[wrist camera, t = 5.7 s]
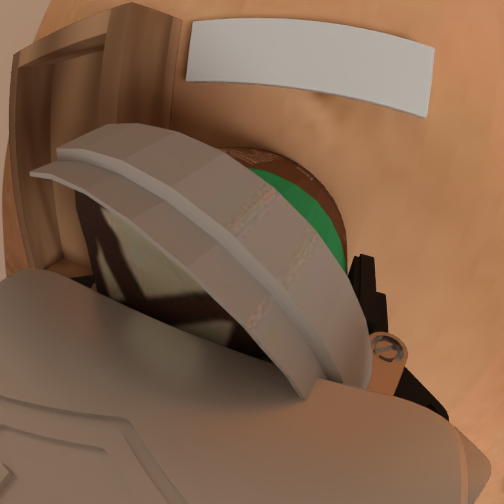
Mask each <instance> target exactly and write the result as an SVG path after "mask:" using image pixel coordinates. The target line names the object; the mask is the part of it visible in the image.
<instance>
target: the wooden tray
mask: <svg viewBox="0 0 504 504" xmlns="http://www.w3.org/2000/svg"><path fill="white" fill-rule="evenodd" d="M181 25H182V20H180V19H177V18H175V17H172V16H170V15H167V14H165V13H162V12H159V11H156V10H153V9H151V8H148V7H145V6H142V5H139V4H135V3H132V2H131V3H128V4H124V5H121V6H118V7H115V8H112V9H109V10H106V11H103V12H101V13H98V14H95V15H93V16H90V17H87V18H85V19H83V20H80V21H78V22H75V23H73V24H71V25H69V26H66V27H64V28H62V29H60V30H58V31H56V32H54V33H52V34H50V35H48V36H46V37H44V38H42V39H40V40H38V41H36V42H35V43H33V44H31V45H29V46H27V47H26V48H24V49H22V50H21V51H19V52H17V53H16V54H14V55H13V63H12V72H11V83H10V99H9V143H10V160H11V172H12V181H13V189H14V196H15V203H16V209H17V215H18V220H19V225H20V230H21V235H22V239H23V244H24V248H25V252H26V256H27V260H28V263H29V267H30V269H42V270H47V271H51V272H55V273H58V274H60V275H63V276H65V277H68V278H73V277H80V276H88V275H93V272H92V268H91V264H90V259H89V255H88V250H87V245H86V242H85V238H84V235H83V232H82V229H81V225H80V222H79V218H78V214H77V211H76V205H75V191H74V189H72V188H70V187H68V186H65V185H63V184H61V183H59V182H56V181H54V180H51V179H45V178H39V177H33V176H30V171H32V170H35V169H37V168H39V167H42V166H44V165H47V164H50V163H52V162H55V161H57V160H58V158H57V151H56V148H58V147H60V146H62V145H64V144H66V143H68V142H70V141H72V140H74V139H76V138H78V137H80V136H82V135H85V134H87V133H89V132H91V131H93V130H96V129H98V128H100V127H102V126H105V125H107V124H123V123H139V124H145V125H150V126H154V127H159V128H164V129H168V130H169V129H170V116H171V104H172V94H173V84H174V75H175V67H176V59H177V51H178V44H179V38H180V31H181Z"/></svg>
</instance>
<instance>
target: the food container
mask: <svg viewBox="0 0 504 504" xmlns="http://www.w3.org/2000/svg"><path fill="white" fill-rule="evenodd" d="M56 151H57V158H58V160H57V161H55V162H52V163H50V164H47V165H44V166H42V167H39V168H37V169H35V170H32V171H30V176H33V177H39V178H45V179H51V180H54V181H56V182H59V183H61V184H63V185H65V186H68V187H70V188H72V189H74V191H75V205H76V211H77V214H78V218H79V222H80V225H81V229H82V232H83V235H84V238H85V242H86V245H87V250H88V255H89V259H90V264H91V268H92V272H93V276H94V280H95V284H96V288H97V292H98V293H100V294H102V295H104V296H106V297H108V298H110V299H113V300H115V301H117V302H119V303H121V304H123V305H125V306H127V307H130V308H132V309H134V310H136V311H138V312H141V313H143V314H145V315H147V316H149V317H152V318H154V319H156V320H159V321H161V322H163V323H166V324H168V325H170V326H173V327H175V328H178V329H180V330H182V331H185V332H187V333H190V334H192V335H195V336H198V337H200V338H203V339H205V340H208V341H210V342H213V343H216V344H218V345H221V346H224V347H227V348H229V349H232V350H235V351H238V352H241V353H244V354H246V355H249V356H252V357H255V358H258V359H261V360H264V361H267V362H271V363H274V364H275V365H276V366H277V367H278V368H279V369H280V370H281V371H282V372H283V374H284V375H285V376H286V378H287V379H288V381H289V382H290V384H291V385H292V387H293V388H294V390H295V391H296V392H297V394H298V395H299V397H300V398H302V399H304V400H306V401H307V399H308V396H309V394H310V392H311V390H312V388H313V386H314V384H315V382H316V379H317V378H324V379H328V380H332V381H336V382H340V383H344V384H348V385H352V386H356V387H360V388H364V389H367V388H368V385H369V382H370V380H371V373H372V359H373V356H372V350H371V344H370V339H369V333H368V328H367V322H366V319H365V316H364V314H363V311H362V309H361V307H360V304H359V302H358V299H357V297H356V295H355V292H354V290H353V288H352V285H351V283H350V281H349V279H348V276H347V240H346V231H345V227H344V223H343V220H342V217H341V214H340V212H339V210H338V208H337V206H336V204H335V202H334V200H333V198H332V197H331V195H330V194H329V193H328V191H327V190H326V188H325V187H324V186H323V185H322V184H321V183H320V182H319V181H318V180H317V179H316V178H315V177H314V176H313V175H312V174H311V173H310V172H309V171H307V170H306V169H305V168H303V167H302V166H300V165H299V164H298V163H296V162H294V161H292V160H290V159H288V158H286V157H284V156H282V155H279V154H276V153H273V152H270V151H267V150H262V149H254V148H245V147H211V146H209V145H207V144H205V143H203V142H200V141H198V140H196V139H194V138H192V137H189V136H187V135H185V134H182V133H180V132H177V131H173V130H168V129H164V128H159V127H154V126H150V125H145V124H139V123H123V124H107V125H105V126H102V127H100V128H98V129H96V130H93V131H91V132H89V133H87V134H85V135H82V136H80V137H78V138H76V139H74V140H72V141H70V142H68V143H66V144H64V145H62V146H60V147H58V148H56Z"/></svg>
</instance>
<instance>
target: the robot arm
mask: <svg viewBox="0 0 504 504" xmlns="http://www.w3.org/2000/svg"><path fill="white" fill-rule="evenodd" d="M348 279H349V281H350V283H351V285H352V288H353V290H354V292H355V295H356V297H357V299H358V302H359V304H360V307H361V309H362V311H363V314H364V316H365V319H366V322H367V328H368V333H369V339H370V344H371V350H372V356H373V359H372V373H371V380H370V382H369V385H368V388H367V389H364V388H360V387H356V386H352V385H348V384H344V383H340V382H336V381H332V380H328V379H324V378H317V379H316V382H315V384H314V386H313V388H312V390H311V392H310V394H309V396H308V399H307V401H306V400H304V399H302V398H300V397H299V395H298V394H297V392H296V391H295V390H294V388H293V387H292V385H291V384H290V382H289V381H288V379H287V378H286V376H285V375H284V374H283V372H282V371H281V370H280V369H279V368H278V367H277V366H276V365H275V364H274V363H271V362H267V361H264V360H261V359H258V358H255V357H252V356H249V355H246V354H244V353H241V352H238V351H235V350H232V349H229V348H227V347H224V346H221V345H218V344H216V343H213V342H210V341H208V340H205V339H203V338H200V337H198V336H195V335H192V334H190V333H187V332H185V331H182V330H180V329H178V328H175V327H173V326H170V325H168V324H166V323H163V322H161V321H159V320H156V319H154V318H152V317H149V316H147V315H145V314H143V313H141V312H138V311H136V310H134V309H132V308H130V307H127V306H125V305H123V304H121V303H119V302H117V301H115V300H113V299H110V298H108V297H106V296H104V295H102V294H100V293H98V292H97V288H96V284H95V280H94V276H93V275H88V276H80V277H73V278H68V277H65V276H63V275H60V274H58V273H55V272H51V271H47V270H42V269H23V270H20V271H18V272H16V273H14V274H12V275H10V276H9V277H7V278H5V279H4V280H2V281H1V282H0V504H474V502H475V501H476V499H477V498H478V496H479V495H480V493H481V491H482V490H483V488H484V487H485V485H486V483H487V482H488V480H489V478H490V475H491V464H490V461H489V460H488V458H487V457H486V456H485V455H484V454H483V453H482V452H481V451H480V450H479V449H478V448H477V447H476V446H475V445H474V444H473V443H472V442H471V441H470V440H469V439H468V438H467V437H466V436H465V435H464V434H463V433H461V432H460V431H459V430H458V429H457V428H456V427H455V426H453V425H452V424H451V423H449V416H448V414H447V411H446V410H445V408H444V407H443V406H442V405H441V404H440V403H439V401H438V400H437V399H436V398H435V397H434V396H433V395H432V394H431V393H430V392H429V391H428V390H427V389H426V388H425V387H424V386H423V385H422V384H421V383H420V382H419V381H418V380H417V379H416V378H415V377H414V376H413V374H412V373H411V372H410V371H409V370H408V369H407V368H406V367H405V364H406V361H407V358H408V351H407V348H406V346H405V344H404V343H403V342H402V341H401V340H400V339H399V338H397V337H396V336H394V335H392V334H390V333H388V318H387V304H386V295H385V294H383V293H380V292H376V279H375V263H374V257H371V256H367V255H363V254H360V256H359V257H357V256H354V259H353V262H352V265H351V268H350V271H349V274H348Z"/></svg>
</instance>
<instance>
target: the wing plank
mask: <svg viewBox="0 0 504 504" xmlns="http://www.w3.org/2000/svg"><path fill="white" fill-rule="evenodd" d="M433 61H434V48H433V47H430V46H427V45H424V44H421V43H418V42H414V41H411V40H408V39H404V38H401V37H397V36H393V35H389V34H385V33H381V32H377V31H373V30H368V29H363V28H358V27H353V26H347V25H341V24H334V23H327V22H318V21H309V20H297V19H280V18H232V19H216V20H204V21H194V22H193V25H192V32H191V40H190V47H189V55H188V64H187V73H186V81H188V82H196V83H232V84H249V85H262V86H272V87H281V88H289V89H297V90H304V91H310V92H317V93H323V94H328V95H333V96H339V97H344V98H348V99H353V100H357V101H362V102H366V103H370V104H374V105H378V106H382V107H386V108H389V109H393V110H396V111H400V112H403V113H406V114H410V115H413V116H416V117H419V118H427V111H428V105H429V98H430V90H431V82H432V72H433Z"/></svg>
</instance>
